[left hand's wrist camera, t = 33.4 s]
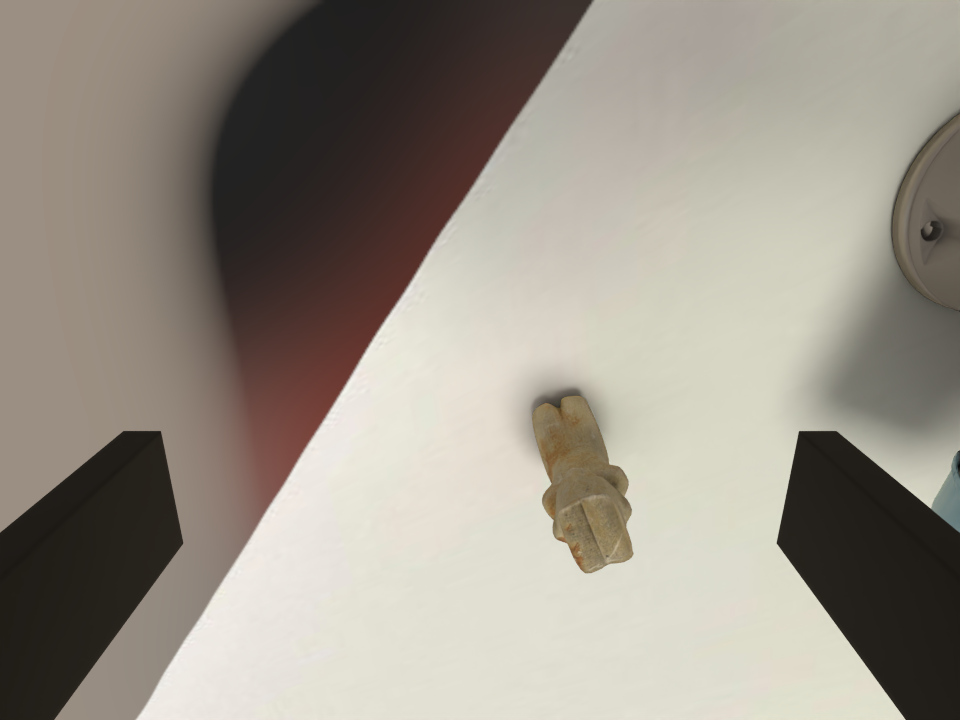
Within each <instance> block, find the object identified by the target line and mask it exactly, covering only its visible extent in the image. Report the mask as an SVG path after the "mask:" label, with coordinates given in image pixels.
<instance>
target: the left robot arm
mask: <svg viewBox="0 0 960 720" xmlns="http://www.w3.org/2000/svg"><path fill="white" fill-rule="evenodd" d="M892 233H893V244H894V250H895V254H896V258H897V261H898V263H899V266H900V268H901V270H902V272H903V273H904V275H905V277H906V278H907V279H908V281H909V282H910V283H911V285H912V286H913V287H914V288H915V289H916V290H917V291H919V292H920V293H921V294H922V295H924V296H925V297H927V298H928V299H930V300H932V301H934V302H936V303H938V304H940V305H943V306H946V307H949V308H951V309H954V310H957V311H960V114H959V115H957V116H956V117H954V118H953V119H952V120H951V121H949V122H948V123H947V124H946V125H945V126H944V127H942V128H941V129H940V130H939V131H938V132H937V133H936V134H935V135H934V136H933V137H932V139H931V140H930V141H929V142H928V143H927V144H926V145H925V147H924V148H923V149H922V151H921V152H920V153H919V155H918V156H917V158H916V159H915V161H914V162H913V164H912V166H911V167H910V169H909V171H908V173H907V175H906V177H905V179H904V181H903V183H902V186H901V188H900V191H899V194H898V197H897V201H896V205H895V209H894V216H893V227H892ZM182 544H183V539H182V534H181V530H180V524H179V520H178V515H177V509H176V505H175V499H174V495H173V490H172V484H171V479H170V474H169V470H168V465H167V459H166V454H165V449H164V445H163V439H162V435H161V431H123V432H122V433H121V434H120V435H118V436H117V437H116V438H115V439H114V440H112V441H111V442H110V443H109V444H107V445H106V446H105V447H104V448H103V449H101V450H100V451H99V452H98V453H96V454H95V455H94V456H93V457H92V458H90V459H89V460H88V461H87V462H86V463H84V464H83V465H82V466H81V467H80V468H78V469H77V470H76V471H75V472H73V473H72V474H71V475H70V476H69V477H67V478H66V479H65V480H64V481H63V482H61V483H60V484H59V485H58V486H56V487H55V488H54V489H53V490H52V491H50V492H49V493H48V494H47V495H45V496H44V497H43V498H42V499H41V500H39V501H38V502H37V503H36V504H35V505H33V506H32V507H31V508H30V509H28V510H27V511H26V512H25V513H24V514H22V515H21V516H20V517H19V518H18V519H16V520H15V521H14V522H13V523H11V524H10V525H9V526H8V527H7V528H5V529H4V530H3V531H2V532H1V533H0V720H54V719H55V718H56V716H57V715H58V714H59V712H60V711H61V710H62V708H63V707H64V706H65V704H66V703H67V702H68V700H69V699H70V697H71V696H72V695H73V693H74V692H75V690H76V689H77V688H78V686H79V685H80V684H81V682H82V681H83V680H84V678H85V677H86V676H87V674H88V673H89V671H90V670H91V669H92V667H93V666H94V665H95V663H96V662H97V660H98V659H99V658H100V656H101V655H102V654H103V652H104V651H105V650H106V648H107V647H108V645H109V644H110V643H111V641H112V640H113V639H114V637H115V636H116V635H117V633H118V632H119V630H120V629H121V628H122V626H123V625H124V624H125V622H126V621H127V619H128V618H129V617H130V615H131V614H132V613H133V611H134V610H135V609H136V607H137V606H138V604H139V603H140V602H141V600H142V599H143V598H144V596H145V595H146V594H147V592H148V591H149V589H150V588H151V587H152V585H153V584H154V583H155V581H156V580H157V578H158V577H159V576H160V574H161V573H162V572H163V570H164V569H165V568H166V566H167V565H168V563H169V562H170V561H171V559H172V558H173V557H174V555H175V554H176V552H177V551H178V550H179V548H180V547H181V546H182ZM777 544H778V546H779V547H780V548H781V550H782V551H783V553H784V554H785V555H786V557H787V558H788V559H789V561H790V562H791V563H792V565H793V566H794V568H795V569H796V570H797V572H798V573H799V574H800V576H801V577H802V579H803V580H804V581H805V583H806V584H807V585H808V587H809V588H810V589H811V591H812V592H813V594H814V595H815V596H816V598H817V599H818V600H819V602H820V603H821V604H822V606H823V607H824V609H825V610H826V611H827V613H828V614H829V615H830V617H831V618H832V620H833V621H834V622H835V624H836V625H837V626H838V628H839V629H840V630H841V632H842V633H843V635H844V636H845V637H846V639H847V640H848V641H849V643H850V644H851V645H852V647H853V648H854V650H855V651H856V652H857V654H858V655H859V656H860V658H861V659H862V661H863V662H864V663H865V665H866V666H867V667H868V669H869V670H870V671H871V673H872V674H873V676H874V677H875V678H876V680H877V681H878V682H879V684H880V685H881V686H882V688H883V689H884V691H885V692H886V693H887V695H888V696H889V697H890V699H891V700H892V702H893V703H894V704H895V706H896V707H897V708H898V710H899V711H900V712H901V714H902V715H903V717H904V718H905V719H906V720H960V451H958V452H957V453H956V455H955V457H954V458H953V461H952V470H951V472H950V474H949V475H948V477H947V479H946V480H945V482H944V484H943V486H942V487H941V489H940V491H939V492H938V494H937V496H936V498H935V500H934V502H933V504H932V508H931V509H930V508H929V507H928V506H927V505H925V504H924V503H923V502H922V501H921V500H919V499H918V498H917V497H916V496H915V495H913V494H912V493H911V492H910V491H908V490H907V489H906V488H905V487H904V486H902V485H901V484H900V483H899V482H898V481H896V480H895V479H894V478H893V477H891V476H890V475H889V474H888V473H887V472H885V471H884V470H883V469H882V468H881V467H879V466H878V465H877V464H876V463H874V462H873V461H872V460H871V459H870V458H868V457H867V456H866V455H865V454H864V453H862V452H861V451H860V450H859V449H857V448H856V447H855V446H854V445H853V444H851V443H850V442H849V441H848V440H847V439H845V438H844V437H843V436H842V435H840V434H839V433H838V432H837V431H799V434H798V439H797V444H796V449H795V454H794V459H793V464H792V469H791V474H790V479H789V484H788V489H787V494H786V499H785V504H784V509H783V514H782V519H781V524H780V529H779V534H778V539H777Z"/></svg>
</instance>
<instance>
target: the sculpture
mask: <svg viewBox="0 0 960 720" xmlns="http://www.w3.org/2000/svg"><path fill="white" fill-rule="evenodd" d="M532 421H533V428H534V432H535V437H536V440H537V444H538V448H539V451H540V455H541V458H542V461H543V464H544V466H545V469H546V472H547V475H548V477H549V479H550V481H551V483H552V484H551V486H550V487H549V488H548V489H547V490H546V492H545V493H544V495H543V498H542V504H543V506H544V508H545V510H546V512H547V513H548V515H549V516H550V517H551V518H552V519H553V520H554V522H553V534H554V537H555V538H556V539H557V540H559V541H562V542H565V543H567V544H568V546H569V548H570V550H571V553H572V555H573V558H574V559H575V561H576V563H577V565H578V566H579V567H580V569H581V570H582V571H583V572H584V573H592V572H595V571H597V570H600V569H602V568H603V567H604V566H606V565H608V564H611V563H621V562H625V561H627V560H629V559H630V558H631V557H632V556H633V551H632V544H631V540H630V537H629V534H628V531H627V528H626V523H627V521H628V519H629V518H630V516H631V512H632V509H631V506H630V504H629V502H628V500H627V499H626V498H625V497H624V496H625V494H626V491H627V489H628V479H627V477H626V475H625V473H624V472H623V470H622V469H621V468H620V467H618V466H614V465H609V459H608V454H607V450H606V447H605V444H604V441H603V438H602V436H601V433H600V430H599V428H598V425H597V423H596V420H595V418H594V416H593V414H592V412H591V410H590V407H589V405H588V403H587V401H586V400H585V399H584V398H582V397H581V396H568V397H564V398H562V400H561V405H560V407H559V408H557V407H555V406H553V405H551V404H548V403H544V404H542V405H540V406H539V407H538V408H536V409H535V411H534V413H533V417H532Z"/></svg>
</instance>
